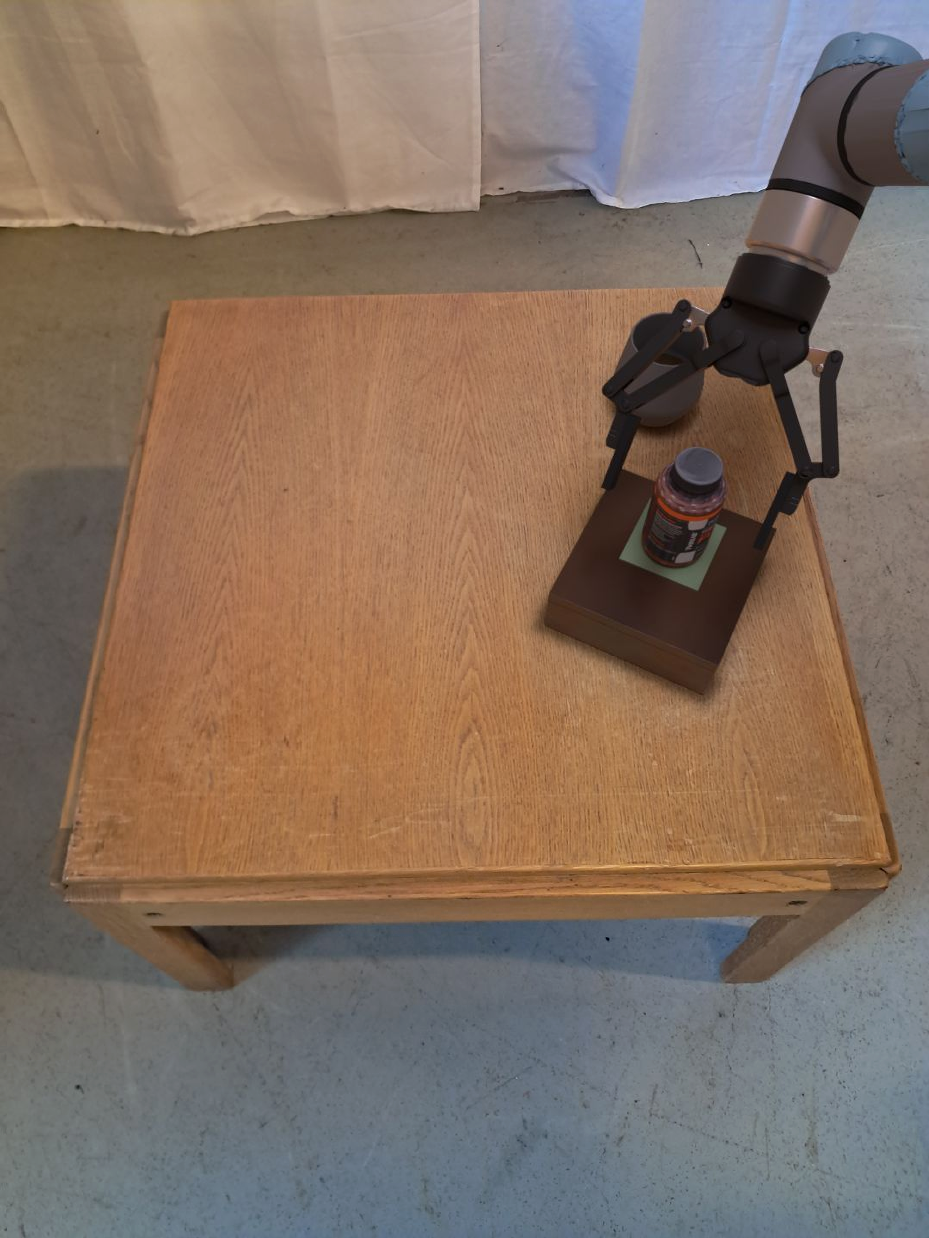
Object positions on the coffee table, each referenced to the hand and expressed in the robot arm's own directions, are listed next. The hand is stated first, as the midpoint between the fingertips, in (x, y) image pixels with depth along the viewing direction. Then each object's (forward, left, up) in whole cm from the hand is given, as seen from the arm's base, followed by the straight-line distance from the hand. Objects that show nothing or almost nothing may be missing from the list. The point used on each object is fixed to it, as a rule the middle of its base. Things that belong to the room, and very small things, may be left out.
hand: (680, 517), depth 78 cm
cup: (+9, -22, -12) cm, 26 cm away
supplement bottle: (0, -2, -6) cm, 6 cm away
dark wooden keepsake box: (0, 0, -12) cm, 12 cm away
